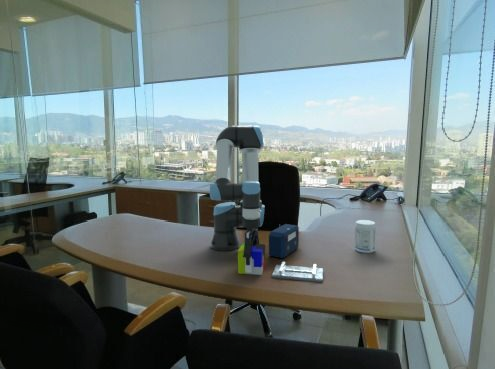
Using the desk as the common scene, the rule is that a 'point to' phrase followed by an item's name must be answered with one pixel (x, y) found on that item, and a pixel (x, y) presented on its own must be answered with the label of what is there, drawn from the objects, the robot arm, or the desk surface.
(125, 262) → the desk surface
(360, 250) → the supplement tub
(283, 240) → the radio
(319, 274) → the rail plate
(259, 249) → the puzzle toy
